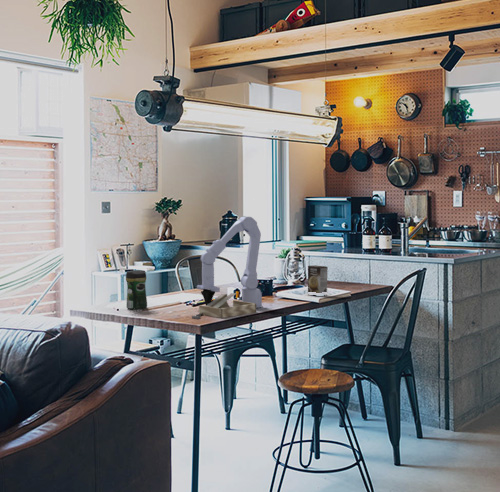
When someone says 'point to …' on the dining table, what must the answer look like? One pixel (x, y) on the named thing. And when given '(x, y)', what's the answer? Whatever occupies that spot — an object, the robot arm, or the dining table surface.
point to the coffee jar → (136, 289)
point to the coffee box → (317, 279)
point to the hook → (197, 316)
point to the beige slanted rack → (221, 301)
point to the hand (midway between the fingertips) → (208, 305)
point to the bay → (229, 309)
